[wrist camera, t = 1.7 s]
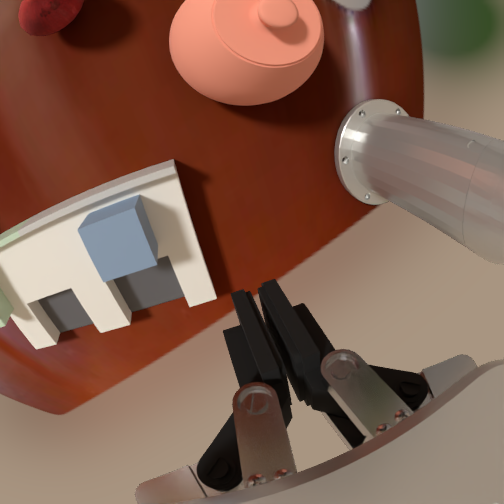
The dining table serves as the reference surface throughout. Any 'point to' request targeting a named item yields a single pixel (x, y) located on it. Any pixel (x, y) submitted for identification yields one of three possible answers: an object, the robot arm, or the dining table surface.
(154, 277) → the box
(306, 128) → the dining table surface
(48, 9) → the onion
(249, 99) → the sugar bowl
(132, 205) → the block
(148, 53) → the dining table surface
